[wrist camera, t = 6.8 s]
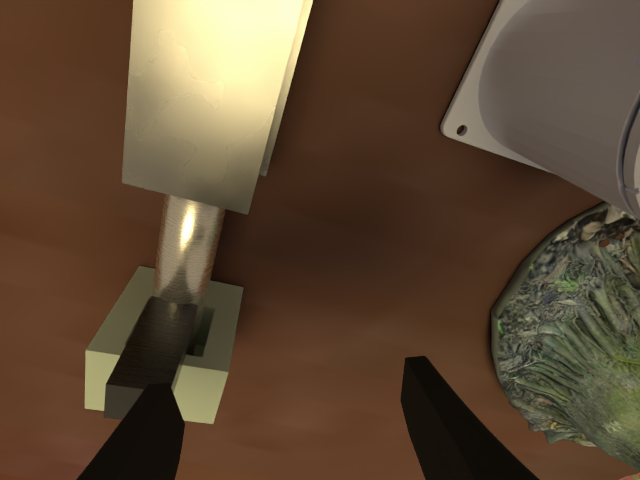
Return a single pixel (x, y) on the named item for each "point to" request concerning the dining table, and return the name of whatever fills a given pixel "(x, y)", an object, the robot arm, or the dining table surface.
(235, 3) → the grey boxy piece
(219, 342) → the socket block
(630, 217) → the tree stump
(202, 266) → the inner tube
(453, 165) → the dining table surface
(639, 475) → the toy food platter
